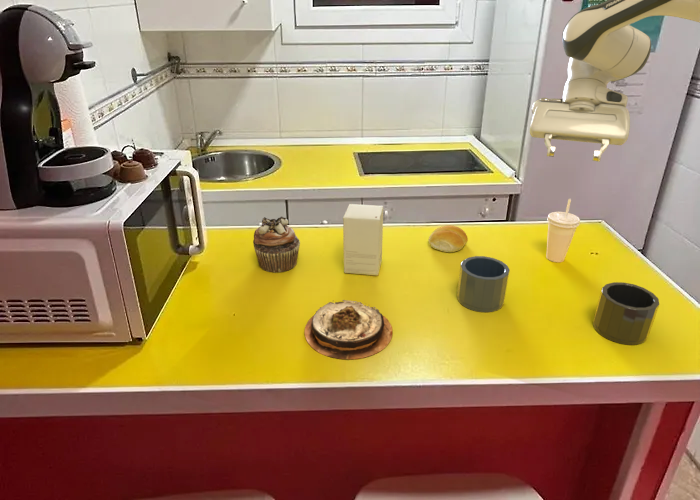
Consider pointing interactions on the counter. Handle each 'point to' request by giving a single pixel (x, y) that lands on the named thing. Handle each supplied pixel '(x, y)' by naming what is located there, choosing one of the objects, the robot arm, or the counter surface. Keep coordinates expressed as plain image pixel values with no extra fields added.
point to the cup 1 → (482, 283)
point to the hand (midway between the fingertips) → (573, 157)
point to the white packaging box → (363, 239)
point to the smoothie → (560, 233)
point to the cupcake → (276, 245)
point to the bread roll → (448, 238)
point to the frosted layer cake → (348, 330)
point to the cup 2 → (625, 313)
